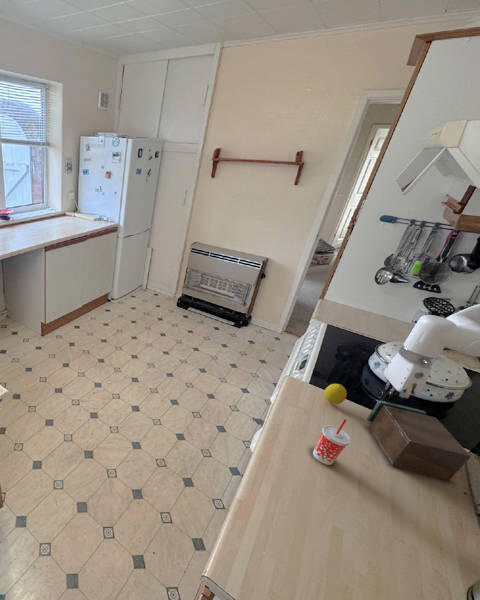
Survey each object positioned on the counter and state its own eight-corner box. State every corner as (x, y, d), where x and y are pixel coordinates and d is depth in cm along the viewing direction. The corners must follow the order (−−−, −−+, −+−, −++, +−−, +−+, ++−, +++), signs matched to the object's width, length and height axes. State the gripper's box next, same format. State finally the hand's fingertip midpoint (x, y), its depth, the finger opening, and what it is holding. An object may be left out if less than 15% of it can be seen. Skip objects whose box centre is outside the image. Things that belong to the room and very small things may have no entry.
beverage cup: (339, 470, 84) (364, 432, 78) (313, 462, 86) (335, 425, 80) (331, 451, 89) (354, 415, 83) (306, 444, 91) (327, 408, 85)
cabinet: (368, 428, 99) (383, 404, 94) (417, 441, 95) (435, 417, 91) (391, 465, 87) (410, 440, 83) (448, 481, 84) (471, 456, 79)
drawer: (360, 409, 105) (372, 391, 101) (402, 419, 102) (415, 401, 98) (387, 450, 90) (401, 430, 87) (436, 463, 87) (453, 444, 84)
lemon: (341, 403, 108) (351, 385, 104) (338, 412, 104) (349, 393, 100) (321, 394, 111) (331, 376, 107) (319, 402, 107) (329, 384, 104)
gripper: (449, 373, 87) (413, 422, 95) (417, 345, 100) (387, 390, 108) (416, 366, 89) (383, 415, 97) (388, 339, 102) (361, 384, 110)
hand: (385, 402), depth 102 cm, fingers closed
